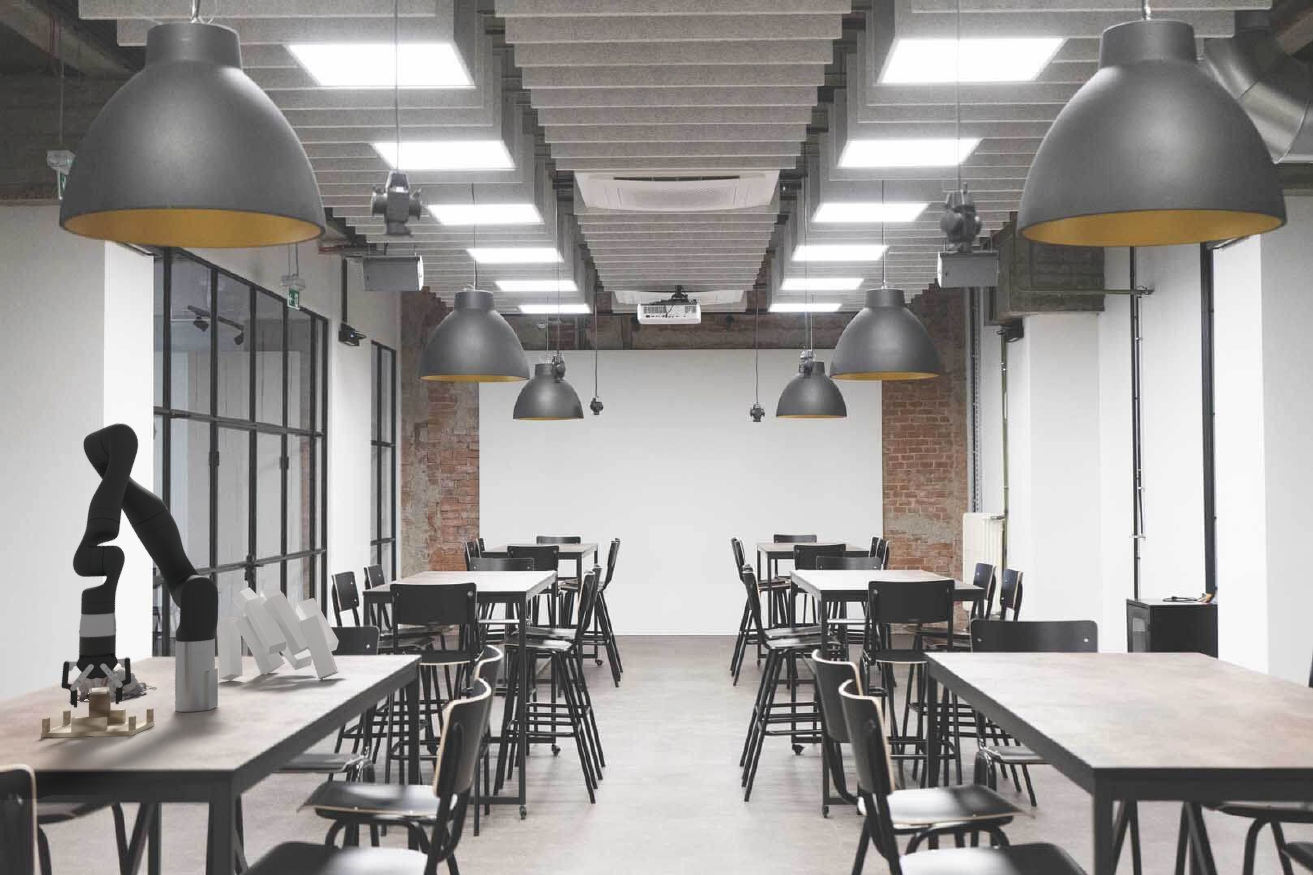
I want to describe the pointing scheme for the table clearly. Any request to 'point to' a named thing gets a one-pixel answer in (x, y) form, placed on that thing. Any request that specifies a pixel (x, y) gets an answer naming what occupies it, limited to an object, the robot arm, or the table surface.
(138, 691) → the grey rough lump
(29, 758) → the table surface
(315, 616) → the pile of blocks
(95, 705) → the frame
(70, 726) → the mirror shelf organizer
